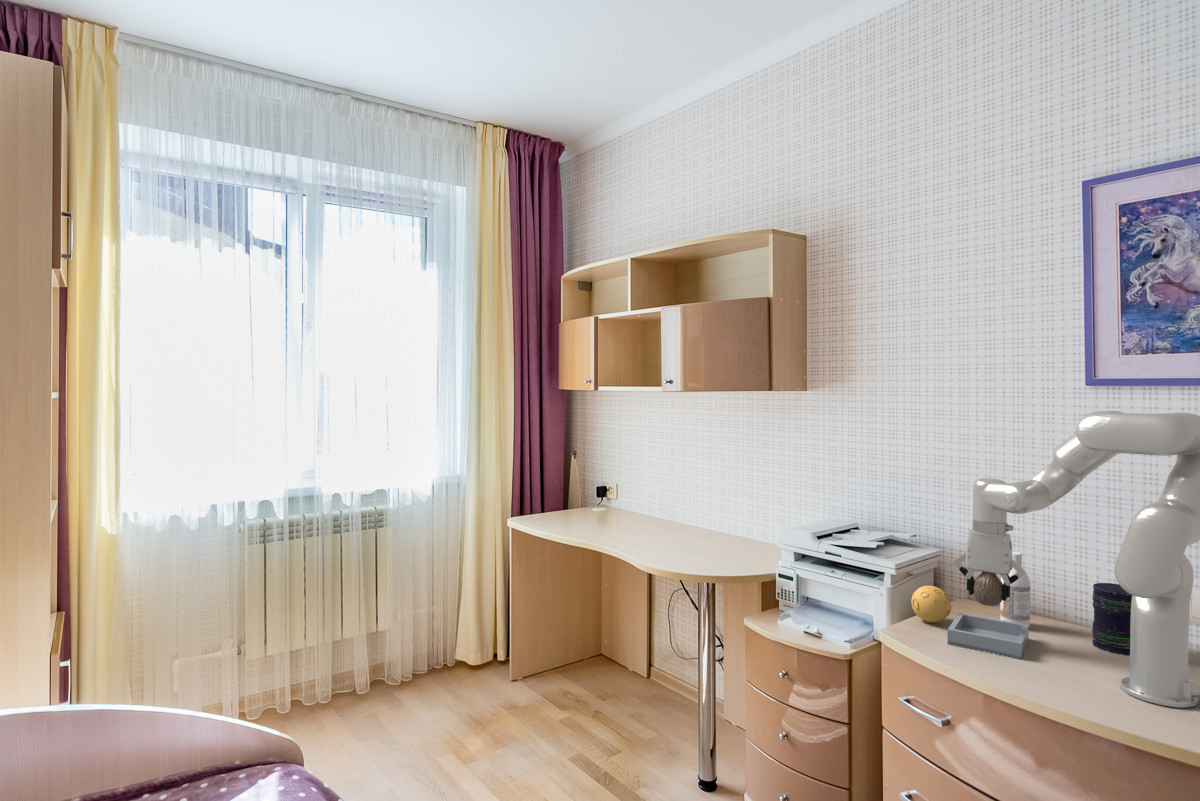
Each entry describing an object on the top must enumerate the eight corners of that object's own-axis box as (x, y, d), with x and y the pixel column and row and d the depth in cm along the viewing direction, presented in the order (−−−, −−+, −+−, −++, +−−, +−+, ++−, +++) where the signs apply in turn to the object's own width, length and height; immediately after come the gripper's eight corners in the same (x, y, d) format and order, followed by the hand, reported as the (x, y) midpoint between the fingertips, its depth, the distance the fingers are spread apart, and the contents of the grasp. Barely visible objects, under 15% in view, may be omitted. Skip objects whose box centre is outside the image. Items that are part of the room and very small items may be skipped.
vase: (1008, 609, 168) (1009, 574, 167) (978, 607, 169) (978, 572, 169) (997, 600, 174) (998, 567, 174) (968, 598, 176) (969, 565, 176)
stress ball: (914, 618, 192) (897, 600, 188) (935, 591, 193) (918, 572, 189) (943, 635, 183) (925, 617, 179) (964, 607, 184) (947, 588, 180)
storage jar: (1091, 637, 175) (1091, 580, 174) (1139, 645, 169) (1140, 586, 169) (1092, 650, 166) (1093, 590, 166) (1143, 658, 161) (1144, 597, 161)
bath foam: (999, 619, 188) (1000, 548, 188) (1028, 623, 185) (1029, 551, 185) (1001, 627, 182) (1001, 554, 182) (1031, 631, 179) (1032, 557, 179)
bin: (1028, 639, 173) (1028, 625, 173) (1021, 659, 161) (1021, 643, 160) (959, 626, 183) (959, 612, 183) (947, 644, 170) (947, 629, 170)
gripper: (1031, 529, 169) (1029, 599, 169) (954, 520, 179) (952, 586, 180) (1027, 534, 163) (1026, 607, 163) (948, 525, 174) (947, 593, 174)
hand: (987, 596), depth 172 cm, fingers closed on vase, 6 cm apart
